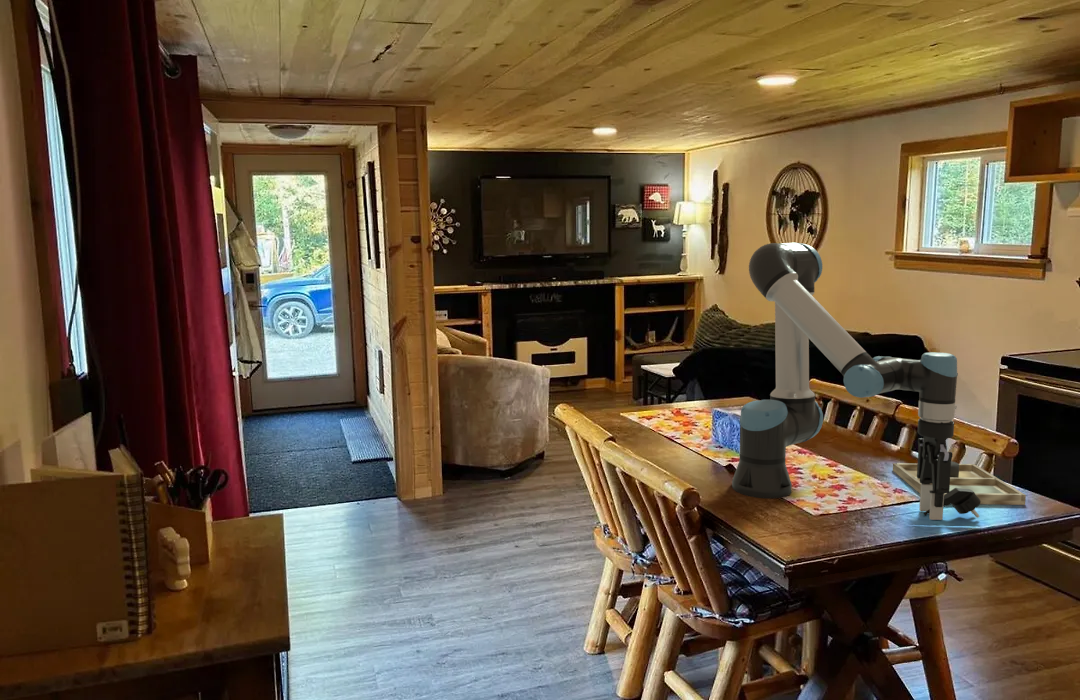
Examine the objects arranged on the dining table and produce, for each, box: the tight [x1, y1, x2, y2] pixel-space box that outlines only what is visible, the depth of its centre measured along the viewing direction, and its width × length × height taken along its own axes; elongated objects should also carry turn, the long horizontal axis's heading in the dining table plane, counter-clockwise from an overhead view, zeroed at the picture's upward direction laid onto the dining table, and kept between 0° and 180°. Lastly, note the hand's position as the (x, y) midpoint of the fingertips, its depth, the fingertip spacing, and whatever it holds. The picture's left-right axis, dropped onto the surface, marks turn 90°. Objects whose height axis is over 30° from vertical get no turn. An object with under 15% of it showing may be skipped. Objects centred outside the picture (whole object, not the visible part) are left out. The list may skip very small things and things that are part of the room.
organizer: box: [892, 462, 1027, 506], centre depth 205 cm, size 22×27×2 cm
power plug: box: [922, 488, 981, 519], centre depth 183 cm, size 6×8×12 cm
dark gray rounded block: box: [950, 460, 960, 478], centre depth 211 cm, size 7×7×4 cm
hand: (930, 514), depth 184 cm, fingers open, 5 cm apart
